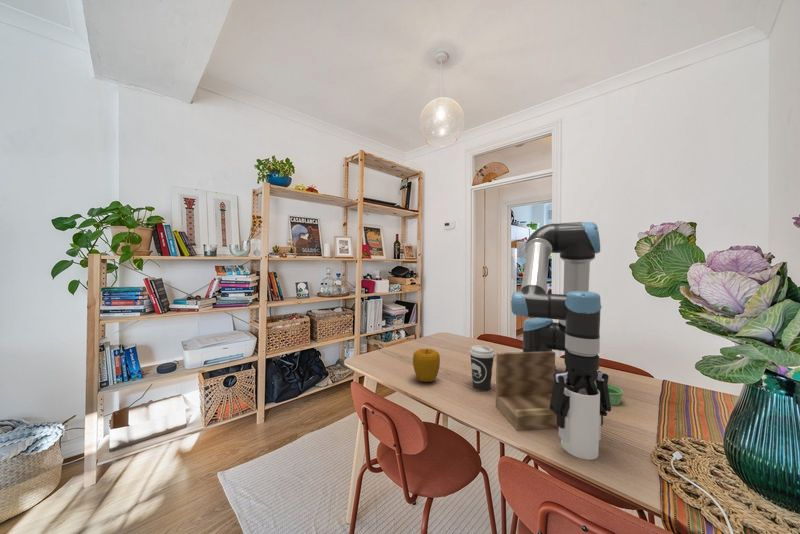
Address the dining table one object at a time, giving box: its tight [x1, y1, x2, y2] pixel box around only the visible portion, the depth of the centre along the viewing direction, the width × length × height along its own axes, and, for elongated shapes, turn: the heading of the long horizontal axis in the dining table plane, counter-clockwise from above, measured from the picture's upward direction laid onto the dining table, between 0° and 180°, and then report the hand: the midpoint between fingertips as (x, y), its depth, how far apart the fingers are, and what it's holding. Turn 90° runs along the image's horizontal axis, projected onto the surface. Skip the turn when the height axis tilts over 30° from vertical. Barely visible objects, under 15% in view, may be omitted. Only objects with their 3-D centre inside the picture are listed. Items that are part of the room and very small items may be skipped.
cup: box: [560, 385, 600, 461], centre depth 74 cm, size 8×8×16 cm
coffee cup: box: [468, 344, 496, 392], centre depth 109 cm, size 10×10×15 cm
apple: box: [412, 348, 441, 383], centre depth 115 cm, size 11×11×13 cm
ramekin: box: [594, 381, 624, 406], centre depth 100 cm, size 9×9×4 cm
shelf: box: [495, 350, 559, 431], centre depth 89 cm, size 20×14×18 cm
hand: (579, 438), depth 74 cm, fingers closed on cup, 8 cm apart
